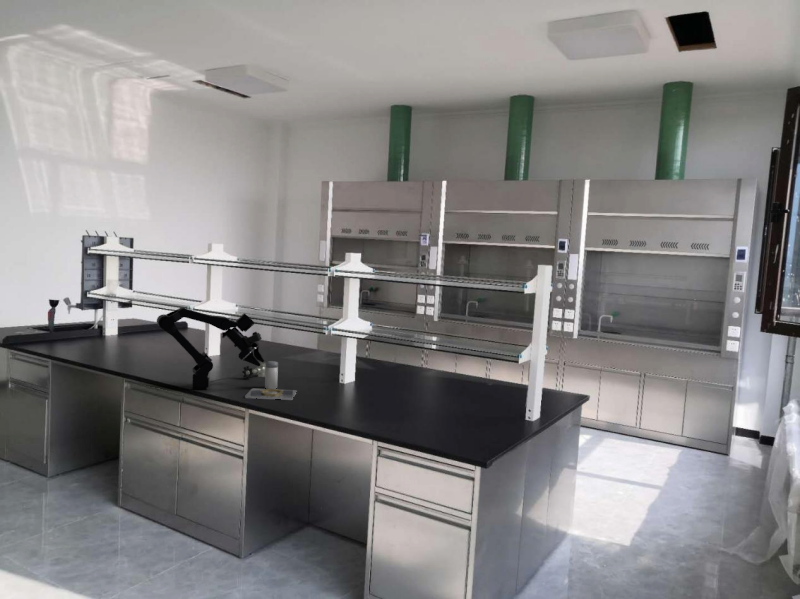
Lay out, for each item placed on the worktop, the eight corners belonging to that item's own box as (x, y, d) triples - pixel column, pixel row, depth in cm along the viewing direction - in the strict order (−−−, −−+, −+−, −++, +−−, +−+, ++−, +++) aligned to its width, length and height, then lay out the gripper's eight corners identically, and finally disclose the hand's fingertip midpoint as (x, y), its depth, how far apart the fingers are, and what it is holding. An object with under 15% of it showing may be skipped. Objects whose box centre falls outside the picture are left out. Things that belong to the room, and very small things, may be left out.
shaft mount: (244, 398, 267) (245, 392, 267) (252, 390, 281) (252, 385, 281) (292, 400, 268) (292, 394, 267) (296, 392, 282) (296, 386, 281)
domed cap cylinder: (263, 389, 285) (264, 363, 284) (266, 386, 290) (266, 360, 289) (276, 389, 285) (276, 363, 284) (278, 386, 290) (279, 361, 289)
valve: (259, 374, 315) (241, 378, 304) (259, 361, 314) (242, 365, 304) (269, 376, 311) (251, 380, 301) (269, 363, 311) (252, 367, 300)
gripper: (246, 329, 276) (270, 355, 277) (255, 324, 294) (278, 348, 296) (228, 346, 276) (252, 372, 277) (237, 340, 295) (260, 364, 296)
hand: (261, 363), depth 287 cm, fingers open, 9 cm apart
